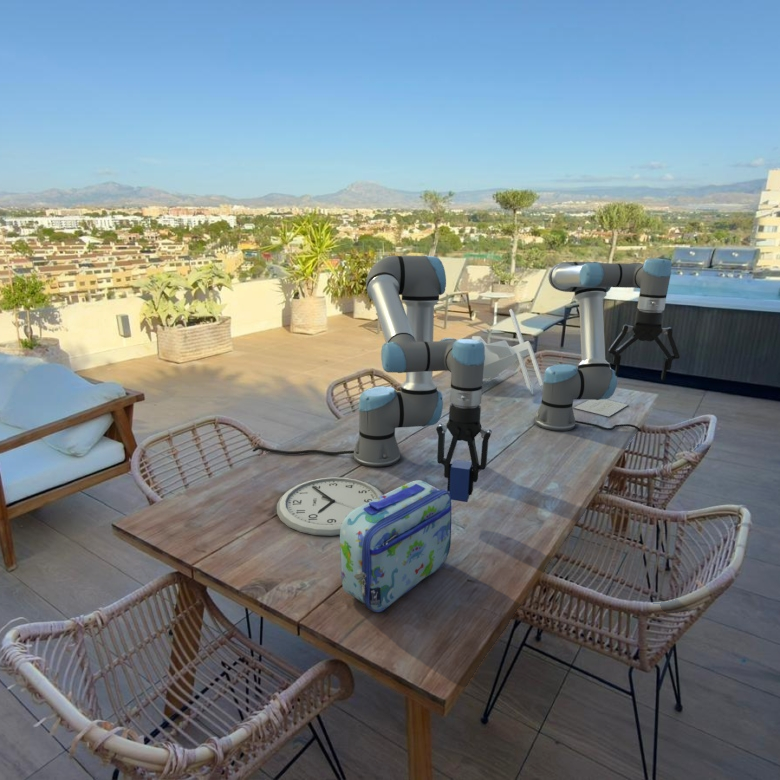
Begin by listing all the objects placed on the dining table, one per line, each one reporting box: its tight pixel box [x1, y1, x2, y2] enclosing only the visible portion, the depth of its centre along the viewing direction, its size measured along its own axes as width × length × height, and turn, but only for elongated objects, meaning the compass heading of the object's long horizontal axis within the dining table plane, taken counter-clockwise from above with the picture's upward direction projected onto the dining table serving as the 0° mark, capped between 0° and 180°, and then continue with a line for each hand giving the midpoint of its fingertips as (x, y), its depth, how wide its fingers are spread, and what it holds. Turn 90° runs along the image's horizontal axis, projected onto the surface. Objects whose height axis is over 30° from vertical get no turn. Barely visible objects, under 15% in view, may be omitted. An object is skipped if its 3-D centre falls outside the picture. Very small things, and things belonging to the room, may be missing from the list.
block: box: [448, 459, 472, 503], centre depth 132 cm, size 5×5×9 cm
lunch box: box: [339, 479, 452, 613], centre depth 109 cm, size 26×11×21 cm, turn 134°
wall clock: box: [276, 476, 385, 537], centre depth 142 cm, size 30×2×30 cm
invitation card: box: [573, 399, 629, 418], centre depth 226 cm, size 21×1×15 cm
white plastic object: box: [471, 308, 544, 395], centre depth 252 cm, size 37×45×31 cm
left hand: (460, 490), depth 133 cm, fingers closed on block, 5 cm apart
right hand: (639, 377), depth 167 cm, fingers open, 13 cm apart
